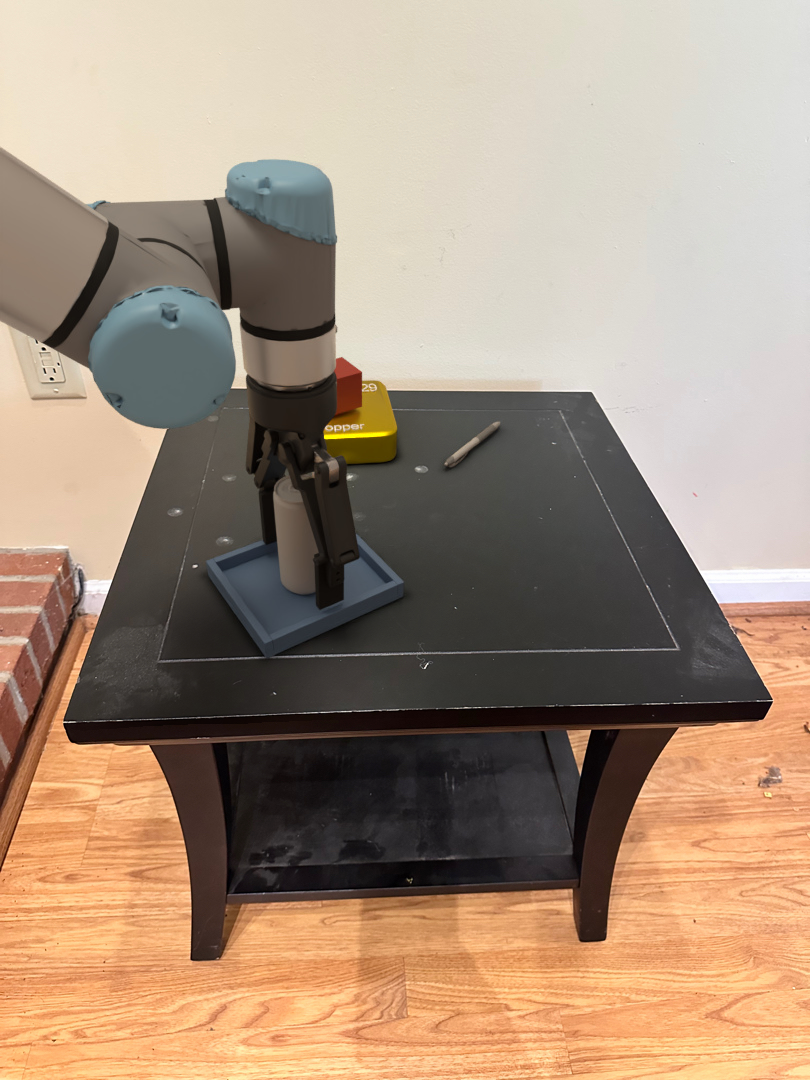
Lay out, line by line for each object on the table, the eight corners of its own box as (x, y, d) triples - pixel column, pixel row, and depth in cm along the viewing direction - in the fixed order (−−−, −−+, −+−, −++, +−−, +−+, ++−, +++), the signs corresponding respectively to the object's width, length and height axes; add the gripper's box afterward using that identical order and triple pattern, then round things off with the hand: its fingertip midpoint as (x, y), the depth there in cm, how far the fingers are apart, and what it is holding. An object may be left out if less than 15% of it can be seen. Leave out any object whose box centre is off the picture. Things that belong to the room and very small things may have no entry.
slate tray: (266, 658, 68) (264, 643, 67) (208, 575, 77) (205, 560, 75) (403, 596, 75) (404, 581, 74) (336, 526, 84) (335, 512, 82)
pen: (441, 469, 94) (442, 460, 93) (496, 426, 103) (497, 417, 102) (447, 472, 93) (448, 463, 92) (502, 428, 102) (503, 420, 101)
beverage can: (325, 598, 74) (322, 503, 66) (277, 597, 74) (268, 501, 66) (329, 567, 77) (326, 473, 70) (284, 565, 77) (276, 471, 70)
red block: (329, 416, 93) (328, 381, 90) (310, 400, 96) (308, 365, 93) (362, 406, 96) (362, 371, 92) (342, 391, 99) (341, 356, 96)
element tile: (281, 468, 92) (279, 436, 89) (279, 409, 104) (276, 379, 101) (398, 462, 94) (400, 430, 91) (383, 405, 106) (384, 375, 103)
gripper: (408, 421, 55) (395, 625, 69) (268, 313, 69) (282, 500, 83) (321, 448, 51) (326, 657, 65) (193, 328, 66) (220, 521, 80)
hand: (301, 569), depth 74 cm, fingers open, 11 cm apart
